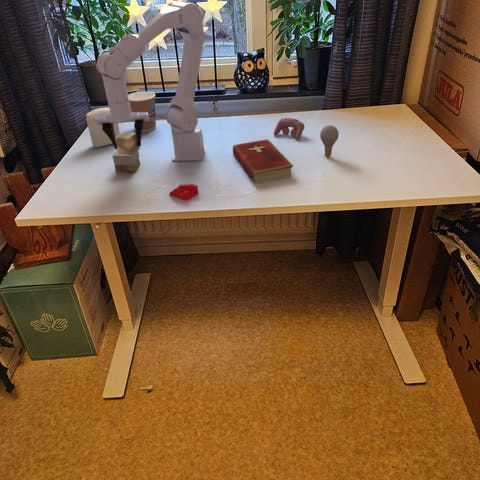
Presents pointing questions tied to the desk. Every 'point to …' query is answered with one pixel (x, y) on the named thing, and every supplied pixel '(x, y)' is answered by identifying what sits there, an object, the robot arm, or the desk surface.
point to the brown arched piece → (289, 122)
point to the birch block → (127, 143)
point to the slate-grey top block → (125, 158)
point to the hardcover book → (262, 161)
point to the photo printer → (99, 128)
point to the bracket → (185, 192)
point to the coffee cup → (144, 107)
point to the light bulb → (329, 138)
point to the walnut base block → (127, 167)
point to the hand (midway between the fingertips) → (128, 146)
